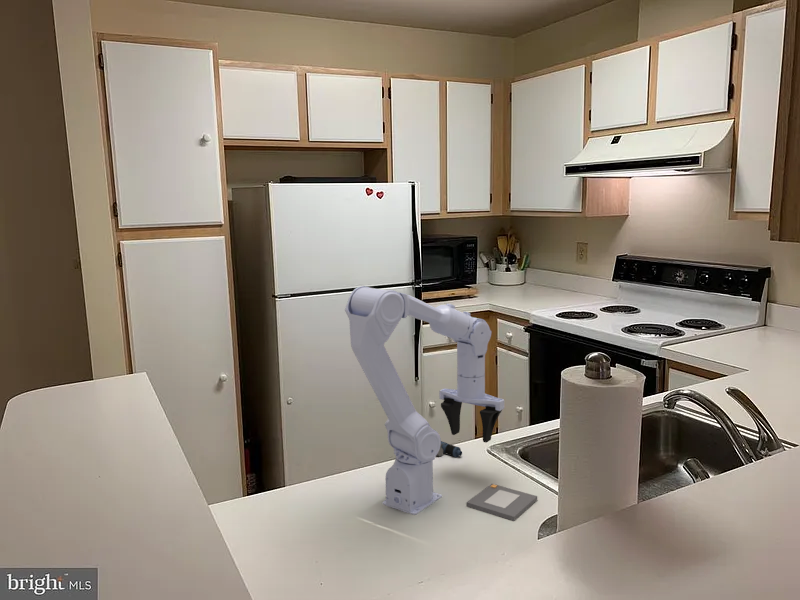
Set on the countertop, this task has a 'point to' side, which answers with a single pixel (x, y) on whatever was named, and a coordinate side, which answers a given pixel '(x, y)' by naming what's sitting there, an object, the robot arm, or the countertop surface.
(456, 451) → the vaping device
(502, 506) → the computer chip
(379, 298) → the robot arm
